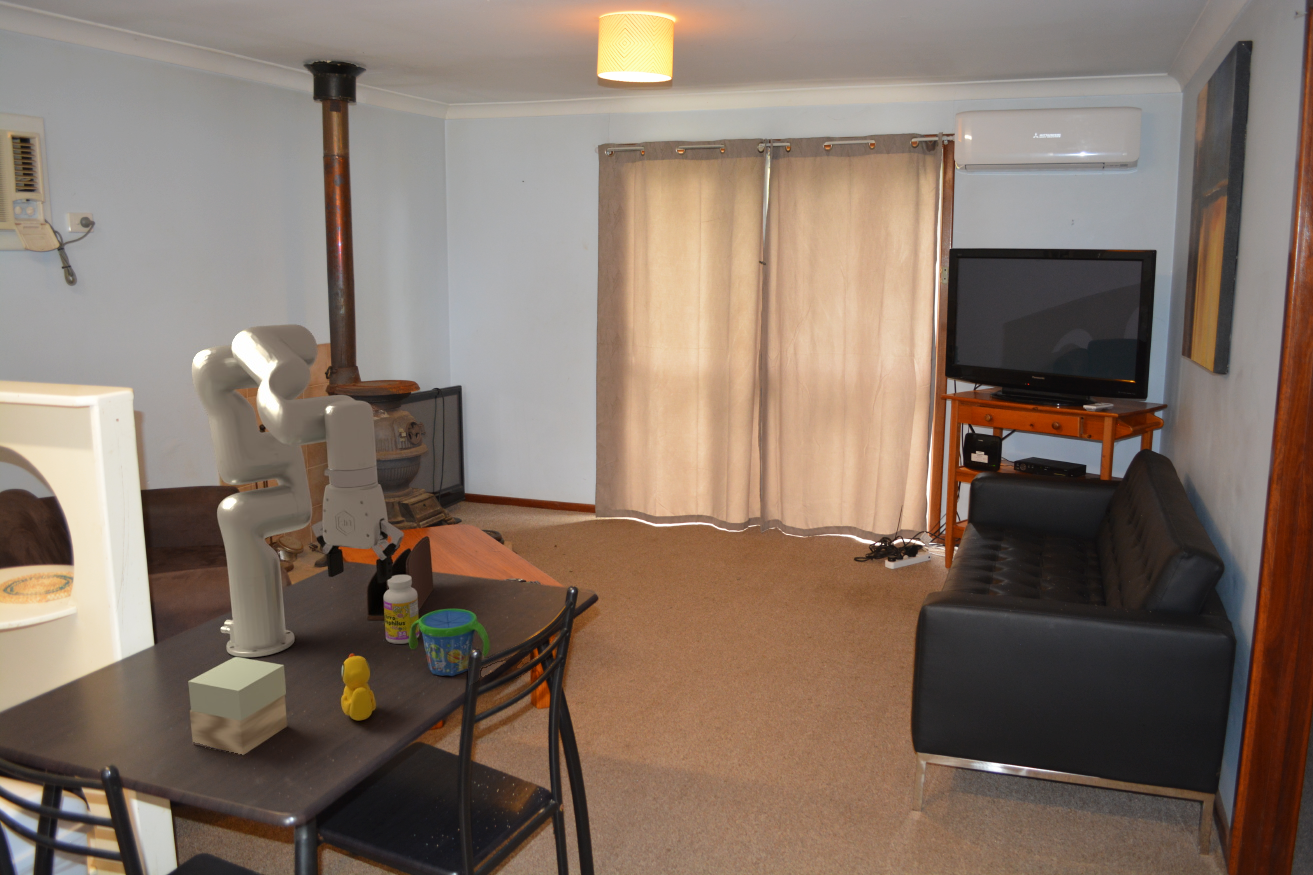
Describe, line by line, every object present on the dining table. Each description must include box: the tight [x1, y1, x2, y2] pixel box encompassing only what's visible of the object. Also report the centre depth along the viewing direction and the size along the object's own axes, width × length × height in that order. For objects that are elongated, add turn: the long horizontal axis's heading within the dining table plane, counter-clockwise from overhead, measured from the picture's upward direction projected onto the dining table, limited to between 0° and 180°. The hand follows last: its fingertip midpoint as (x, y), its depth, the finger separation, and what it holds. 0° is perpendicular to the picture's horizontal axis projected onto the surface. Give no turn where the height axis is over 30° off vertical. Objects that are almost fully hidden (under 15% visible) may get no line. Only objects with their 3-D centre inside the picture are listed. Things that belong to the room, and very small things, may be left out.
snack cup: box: [408, 608, 491, 677], centre depth 181 cm, size 16×10×10 cm
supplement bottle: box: [384, 575, 420, 645], centre depth 196 cm, size 7×7×13 cm
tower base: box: [189, 694, 288, 756], centre depth 157 cm, size 10×10×6 cm
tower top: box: [187, 656, 287, 721], centre depth 156 cm, size 10×10×5 cm
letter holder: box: [366, 535, 435, 621], centre depth 215 cm, size 10×20×14 cm, turn 0°
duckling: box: [340, 653, 377, 721], centre depth 163 cm, size 11×5×10 cm, turn 24°
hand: (360, 577), depth 161 cm, fingers open, 9 cm apart
